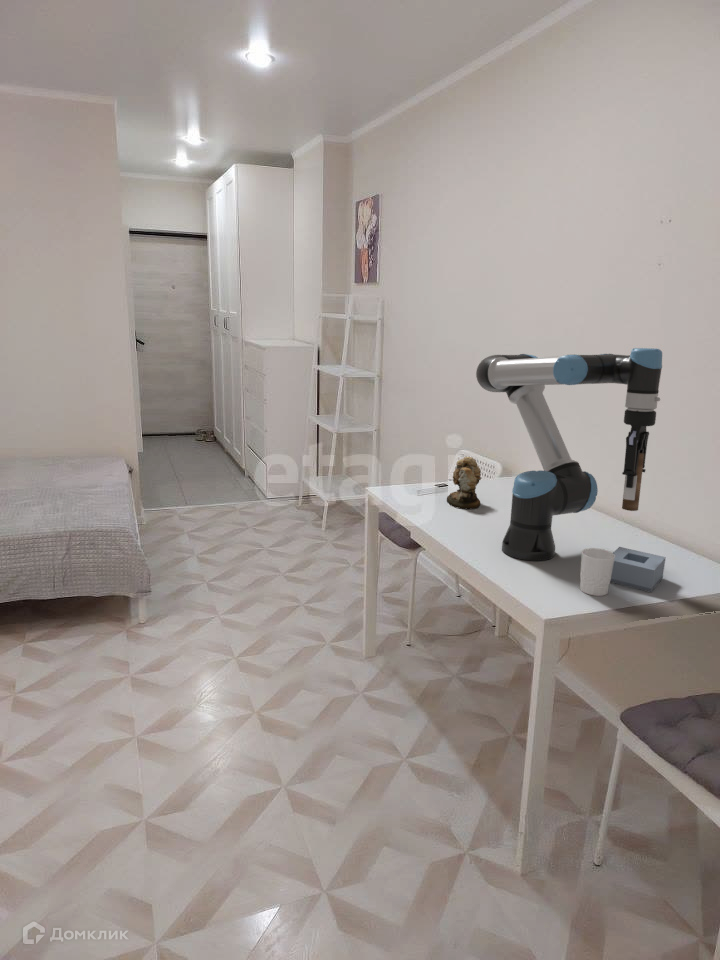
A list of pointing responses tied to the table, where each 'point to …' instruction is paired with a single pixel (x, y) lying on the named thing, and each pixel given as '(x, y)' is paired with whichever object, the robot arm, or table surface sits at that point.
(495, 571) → the table surface
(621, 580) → the socket block
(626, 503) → the walnut dowel
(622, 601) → the table surface
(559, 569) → the table surface
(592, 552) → the white cup
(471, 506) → the brown stone bust
